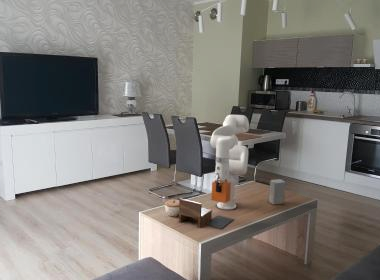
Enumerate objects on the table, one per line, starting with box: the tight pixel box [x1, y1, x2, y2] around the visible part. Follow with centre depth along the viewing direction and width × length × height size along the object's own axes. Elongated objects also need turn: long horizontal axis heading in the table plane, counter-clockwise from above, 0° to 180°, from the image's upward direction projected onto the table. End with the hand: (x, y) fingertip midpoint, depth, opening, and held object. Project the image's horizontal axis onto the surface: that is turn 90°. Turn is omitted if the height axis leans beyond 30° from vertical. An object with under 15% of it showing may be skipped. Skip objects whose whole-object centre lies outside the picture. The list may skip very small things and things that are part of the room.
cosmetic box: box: [268, 178, 286, 206], centre depth 245 cm, size 8×7×16 cm
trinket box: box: [164, 199, 179, 217], centre depth 220 cm, size 11×11×9 cm
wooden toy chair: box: [178, 197, 213, 228], centre depth 211 cm, size 14×14×14 cm
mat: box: [205, 215, 234, 230], centre depth 211 cm, size 16×10×1 cm, turn 148°
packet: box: [211, 180, 231, 203], centre depth 207 cm, size 6×9×11 cm, turn 58°
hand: (221, 190), depth 207 cm, fingers closed on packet, 6 cm apart
